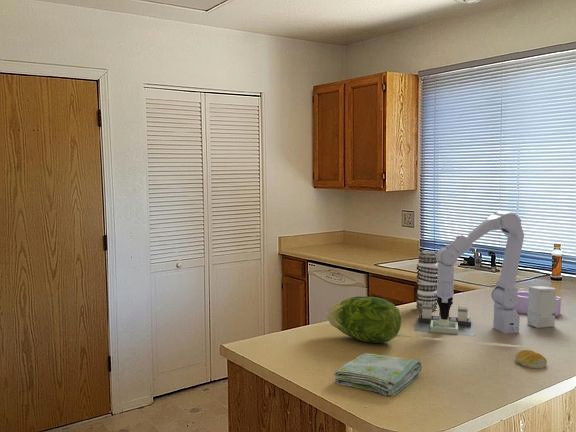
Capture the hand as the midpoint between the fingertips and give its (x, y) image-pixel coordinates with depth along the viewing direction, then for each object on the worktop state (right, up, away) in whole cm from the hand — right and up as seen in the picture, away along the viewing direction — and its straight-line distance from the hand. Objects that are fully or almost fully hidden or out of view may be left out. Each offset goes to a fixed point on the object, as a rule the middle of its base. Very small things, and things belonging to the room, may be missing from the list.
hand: (444, 317), depth 202 cm
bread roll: (+17, -8, -33) cm, 38 cm away
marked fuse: (0, -2, 0) cm, 3 cm away
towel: (-32, -9, -47) cm, 57 cm away
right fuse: (+9, -4, +7) cm, 12 cm away
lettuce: (-31, -6, -10) cm, 34 cm away
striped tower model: (+1, -3, +31) cm, 31 cm away
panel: (+1, -5, +4) cm, 6 cm away
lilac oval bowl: (+47, -3, +31) cm, 56 cm away
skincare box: (+40, -5, +9) cm, 41 cm away
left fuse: (-4, -3, +11) cm, 12 cm away
